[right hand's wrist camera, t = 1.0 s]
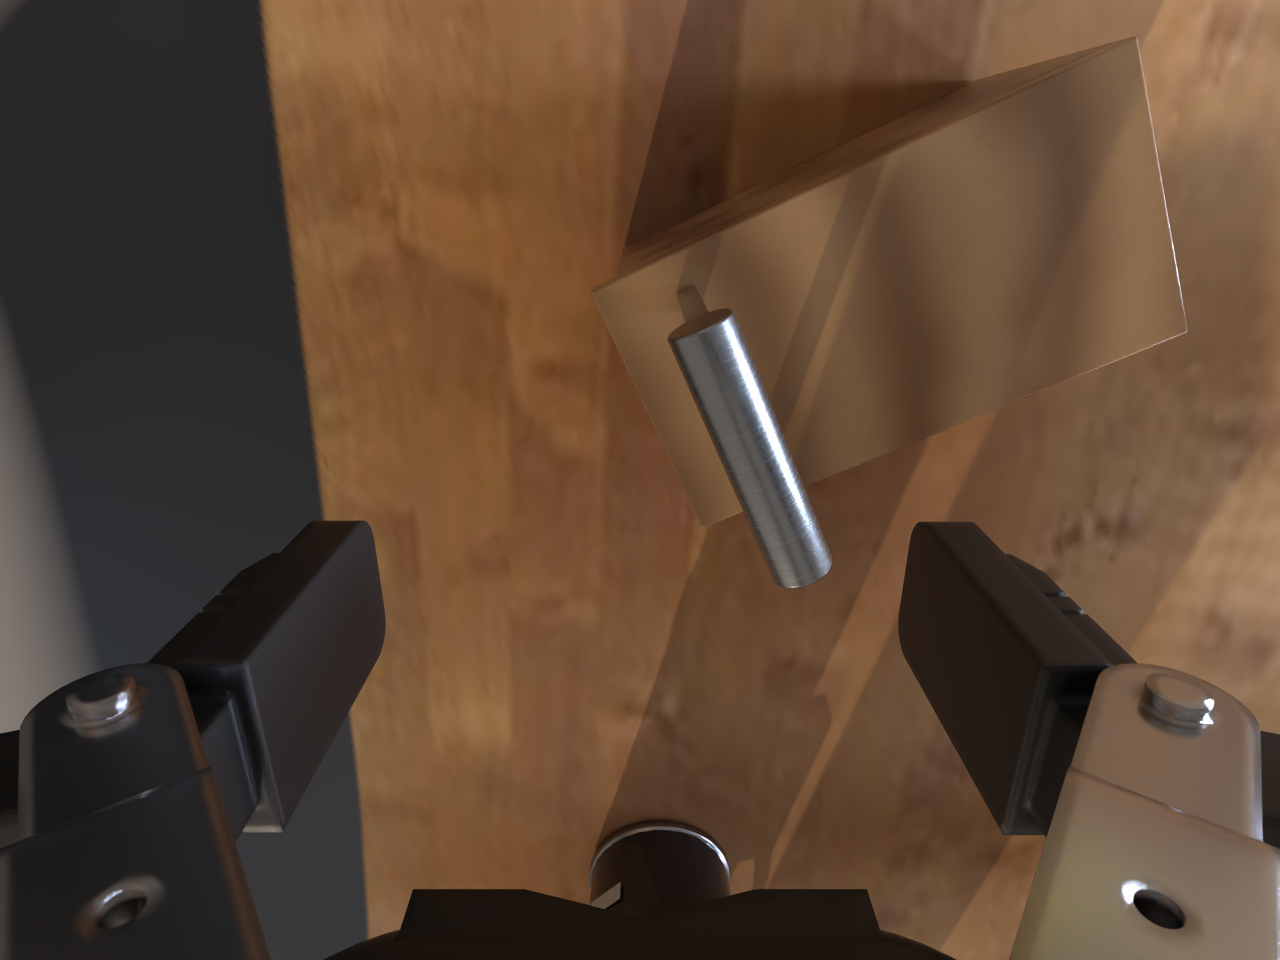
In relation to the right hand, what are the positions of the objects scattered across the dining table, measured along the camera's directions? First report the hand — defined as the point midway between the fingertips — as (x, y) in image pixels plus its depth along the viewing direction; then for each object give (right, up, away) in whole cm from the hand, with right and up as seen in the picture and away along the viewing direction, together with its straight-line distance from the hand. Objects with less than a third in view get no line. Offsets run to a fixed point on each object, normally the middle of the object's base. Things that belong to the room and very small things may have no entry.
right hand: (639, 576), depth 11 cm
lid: (+9, +8, +15) cm, 19 cm away
